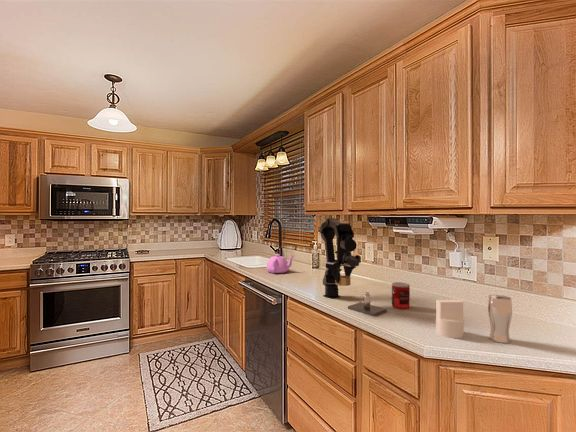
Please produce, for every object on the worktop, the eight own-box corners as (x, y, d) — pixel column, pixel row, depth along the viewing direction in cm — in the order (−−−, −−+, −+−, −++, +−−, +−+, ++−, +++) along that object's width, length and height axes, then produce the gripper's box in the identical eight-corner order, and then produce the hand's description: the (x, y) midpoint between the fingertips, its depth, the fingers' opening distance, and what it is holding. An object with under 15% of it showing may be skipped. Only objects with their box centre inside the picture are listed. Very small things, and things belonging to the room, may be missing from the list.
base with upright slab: (454, 328, 117) (454, 297, 117) (469, 338, 108) (469, 304, 108) (431, 329, 117) (431, 297, 117) (444, 338, 108) (444, 304, 108)
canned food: (395, 303, 150) (395, 281, 150) (411, 306, 145) (411, 283, 145) (389, 307, 144) (389, 284, 144) (406, 310, 139) (406, 286, 139)
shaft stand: (347, 308, 141) (347, 291, 141) (360, 304, 148) (360, 288, 148) (374, 316, 131) (374, 297, 131) (386, 311, 138) (386, 293, 138)
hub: (332, 283, 146) (332, 276, 146) (341, 281, 150) (341, 274, 150) (343, 286, 141) (343, 278, 141) (353, 284, 145) (353, 276, 145)
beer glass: (514, 345, 102) (515, 300, 102) (490, 342, 105) (490, 298, 105) (508, 337, 109) (508, 295, 109) (485, 334, 111) (485, 293, 111)
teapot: (291, 275, 219) (291, 256, 219) (262, 274, 224) (262, 255, 224) (297, 270, 241) (297, 253, 241) (271, 269, 246) (271, 252, 246)
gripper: (343, 252, 133) (343, 287, 133) (368, 249, 146) (368, 282, 146) (324, 250, 142) (324, 283, 142) (349, 247, 154) (349, 278, 154)
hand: (342, 281), depth 146 cm, fingers closed on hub, 7 cm apart
